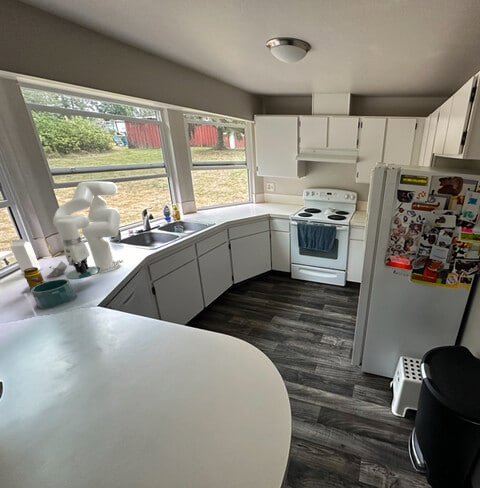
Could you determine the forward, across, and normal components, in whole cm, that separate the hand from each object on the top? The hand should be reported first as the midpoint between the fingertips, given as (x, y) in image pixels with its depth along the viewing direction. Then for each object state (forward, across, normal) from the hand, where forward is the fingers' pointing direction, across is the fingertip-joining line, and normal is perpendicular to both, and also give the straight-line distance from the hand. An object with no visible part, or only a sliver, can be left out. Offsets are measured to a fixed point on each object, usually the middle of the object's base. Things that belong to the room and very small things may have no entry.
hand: (83, 270), depth 143 cm
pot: (+9, -16, +4) cm, 19 cm away
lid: (+2, 0, 0) cm, 2 cm away
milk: (+11, +23, +46) cm, 53 cm away
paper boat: (+11, +19, +28) cm, 35 cm away
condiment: (+10, 0, +26) cm, 28 cm away
